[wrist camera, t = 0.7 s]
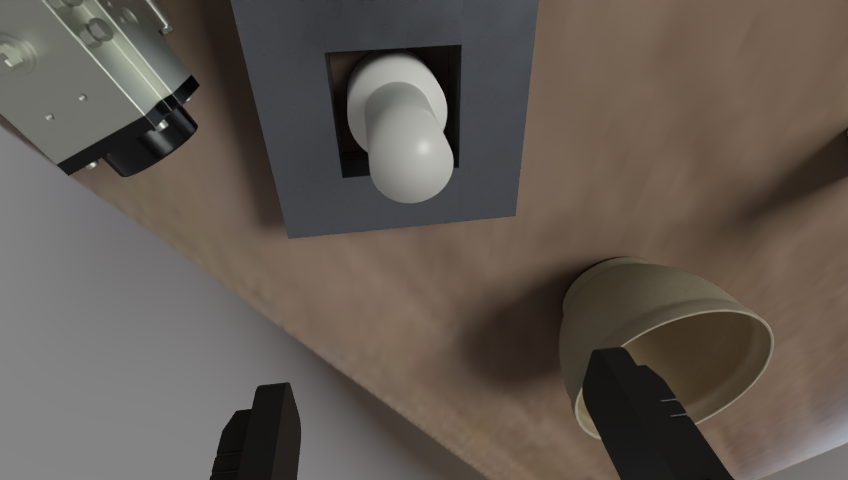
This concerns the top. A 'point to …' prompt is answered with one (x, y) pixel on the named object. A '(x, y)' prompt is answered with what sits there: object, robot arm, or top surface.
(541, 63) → the top surface
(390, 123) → the white stepped cylindrical peg
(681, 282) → the planter bowl
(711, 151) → the top surface
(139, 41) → the pneumatic valve
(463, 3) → the bore block
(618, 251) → the top surface
